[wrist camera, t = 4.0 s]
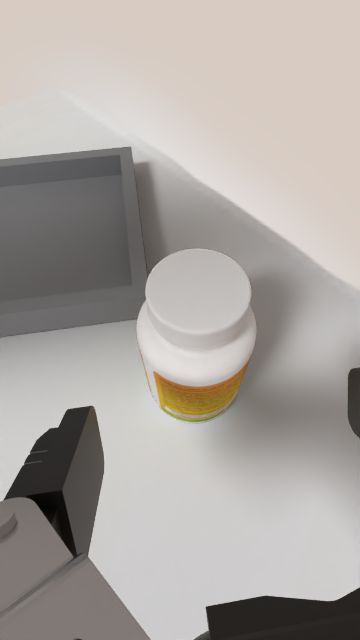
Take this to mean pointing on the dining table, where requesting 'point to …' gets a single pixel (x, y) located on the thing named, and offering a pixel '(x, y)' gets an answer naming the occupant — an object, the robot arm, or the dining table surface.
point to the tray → (69, 241)
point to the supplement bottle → (196, 333)
